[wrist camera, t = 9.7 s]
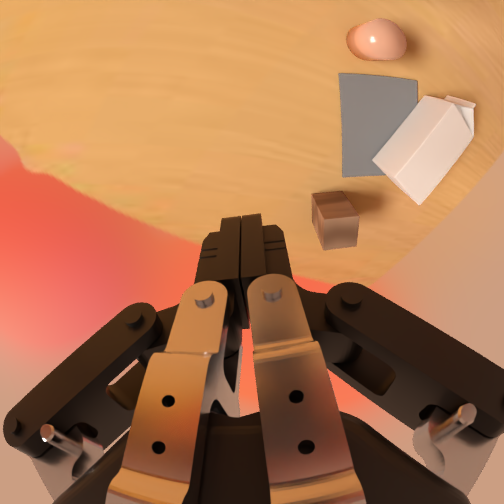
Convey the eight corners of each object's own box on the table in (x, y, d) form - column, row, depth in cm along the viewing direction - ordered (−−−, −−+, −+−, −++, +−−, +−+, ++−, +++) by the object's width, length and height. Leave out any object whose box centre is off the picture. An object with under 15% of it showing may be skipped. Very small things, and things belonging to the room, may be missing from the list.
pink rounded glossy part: (343, 24, 25) (363, 15, 19) (380, 28, 25) (403, 22, 19) (348, 59, 28) (368, 57, 23) (384, 62, 28) (408, 62, 22)
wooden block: (311, 193, 41) (324, 219, 35) (341, 191, 41) (359, 215, 34) (312, 221, 44) (323, 250, 38) (341, 218, 44) (356, 246, 37)
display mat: (338, 73, 30) (339, 73, 30) (416, 80, 29) (417, 80, 29) (342, 176, 39) (342, 177, 39) (412, 173, 38) (413, 174, 38)
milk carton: (393, 178, 31) (465, 86, 22) (370, 160, 37) (436, 79, 28) (419, 207, 34) (485, 121, 25) (396, 186, 40) (457, 110, 31)
